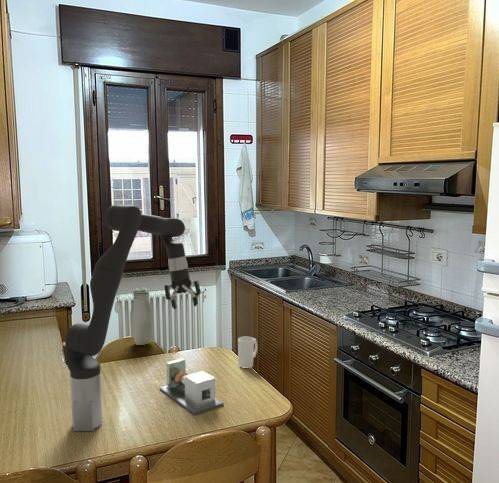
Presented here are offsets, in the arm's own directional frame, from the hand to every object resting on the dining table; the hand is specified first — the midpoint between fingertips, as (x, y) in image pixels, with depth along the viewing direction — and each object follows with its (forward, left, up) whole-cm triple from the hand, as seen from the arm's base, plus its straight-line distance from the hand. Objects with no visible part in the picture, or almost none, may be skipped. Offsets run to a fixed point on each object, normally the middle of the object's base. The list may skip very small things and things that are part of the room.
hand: (185, 307), depth 195 cm
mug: (+6, -26, -28) cm, 39 cm away
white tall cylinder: (+33, +24, -28) cm, 49 cm away
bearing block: (-24, -3, -27) cm, 36 cm away
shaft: (-21, -1, -26) cm, 33 cm away
